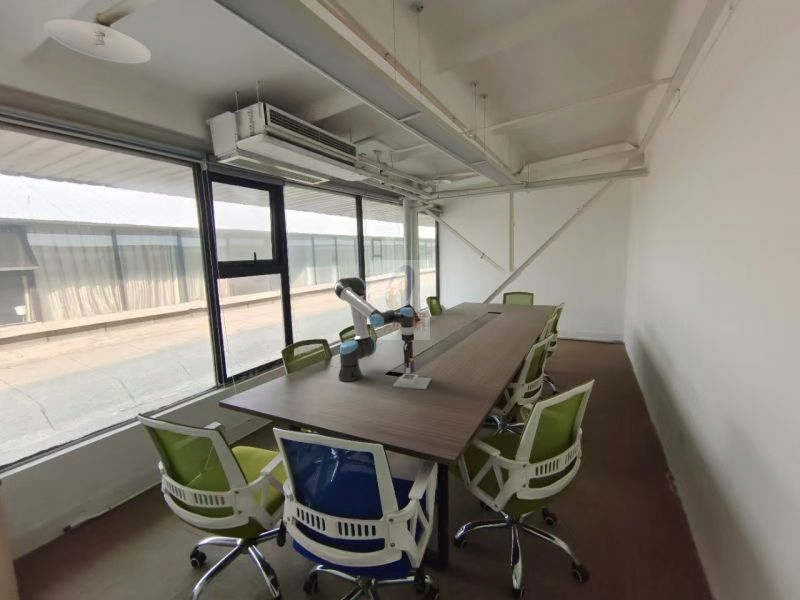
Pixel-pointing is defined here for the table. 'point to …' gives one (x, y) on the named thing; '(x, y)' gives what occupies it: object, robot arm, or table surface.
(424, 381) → the socket plate
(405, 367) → the plug
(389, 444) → the table surface
